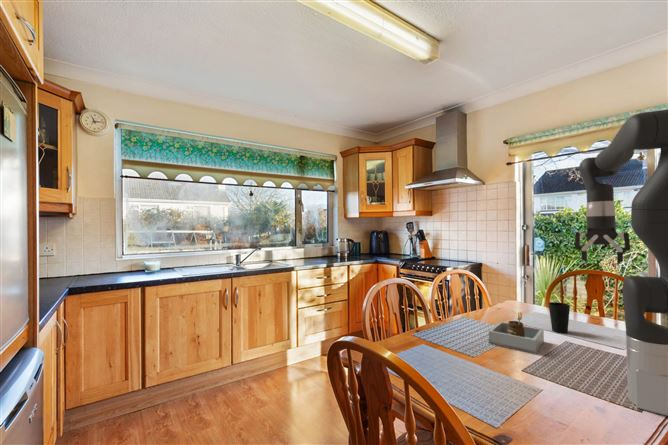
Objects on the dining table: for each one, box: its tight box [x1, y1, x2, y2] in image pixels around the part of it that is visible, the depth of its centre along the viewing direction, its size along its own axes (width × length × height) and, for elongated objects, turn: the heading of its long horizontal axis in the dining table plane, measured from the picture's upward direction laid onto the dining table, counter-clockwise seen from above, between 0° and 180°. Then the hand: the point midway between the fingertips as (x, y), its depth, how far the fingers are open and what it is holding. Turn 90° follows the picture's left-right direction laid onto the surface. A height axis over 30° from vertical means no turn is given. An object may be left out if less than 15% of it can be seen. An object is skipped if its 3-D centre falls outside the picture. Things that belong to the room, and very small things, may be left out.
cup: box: [548, 301, 571, 335], centre depth 137 cm, size 8×8×12 cm
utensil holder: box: [507, 311, 525, 337], centre depth 125 cm, size 6×6×12 cm
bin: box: [488, 321, 545, 355], centre depth 125 cm, size 16×16×5 cm
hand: (601, 262), depth 106 cm, fingers open, 8 cm apart
